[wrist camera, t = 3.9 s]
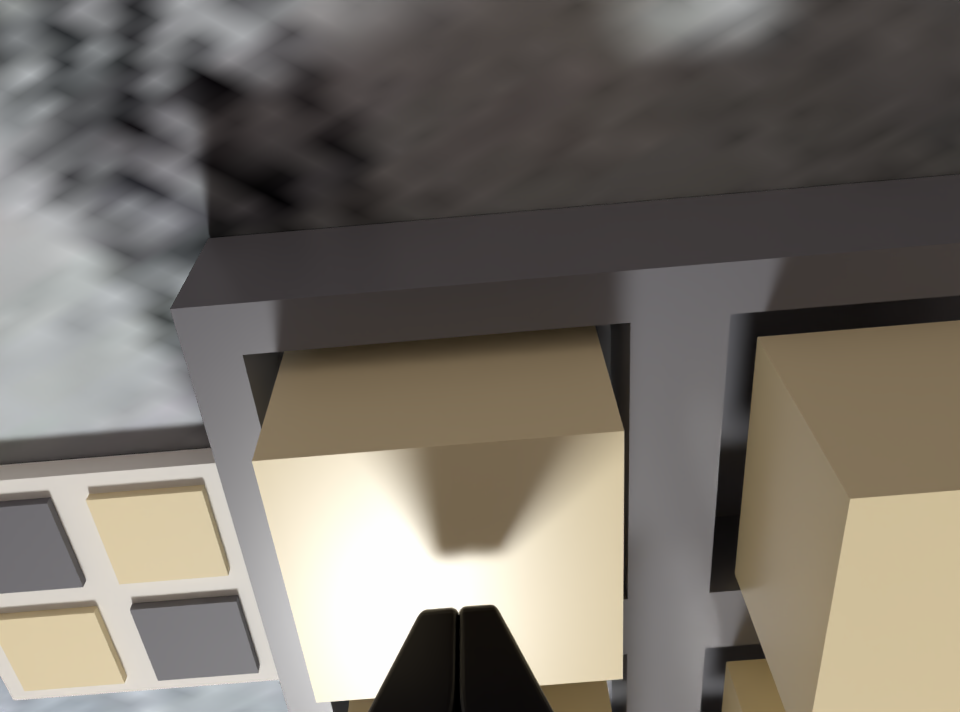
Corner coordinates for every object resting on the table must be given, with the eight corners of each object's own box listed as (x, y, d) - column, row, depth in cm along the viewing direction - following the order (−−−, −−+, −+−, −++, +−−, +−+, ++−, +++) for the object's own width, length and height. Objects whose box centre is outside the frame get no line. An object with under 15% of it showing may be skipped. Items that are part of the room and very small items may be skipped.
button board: (345, 773, 19) (335, 872, 17) (208, 238, 12) (169, 308, 11) (933, 729, 18) (982, 824, 17) (1099, 162, 12) (1203, 222, 10)
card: (22, 682, 17) (9, 707, 16) (-87, 472, 14) (-106, 495, 14) (289, 661, 17) (285, 686, 16) (229, 446, 14) (221, 468, 14)
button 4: (339, 542, 14) (316, 702, 12) (292, 323, 12) (252, 460, 10) (591, 521, 14) (622, 678, 12) (587, 298, 12) (624, 431, 10)
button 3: (735, 573, 13) (803, 760, 11) (757, 337, 11) (850, 498, 9) (1012, 551, 13) (1148, 735, 11) (1088, 309, 11) (1281, 464, 8)
